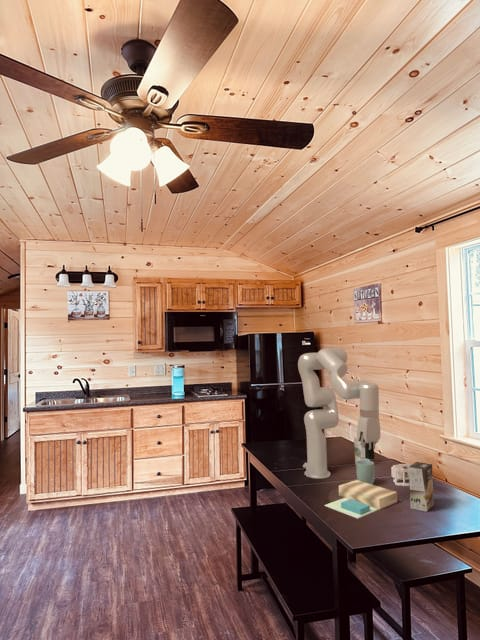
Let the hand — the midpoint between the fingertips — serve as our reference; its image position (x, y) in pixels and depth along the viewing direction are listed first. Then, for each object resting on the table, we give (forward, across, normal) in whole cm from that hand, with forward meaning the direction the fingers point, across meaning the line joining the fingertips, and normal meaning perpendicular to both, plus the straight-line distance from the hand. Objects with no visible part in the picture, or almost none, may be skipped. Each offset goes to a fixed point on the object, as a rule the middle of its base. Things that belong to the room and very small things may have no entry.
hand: (369, 458), depth 173 cm
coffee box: (+17, -11, +17) cm, 26 cm away
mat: (+17, +12, 0) cm, 21 cm away
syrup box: (+19, -39, -32) cm, 54 cm away
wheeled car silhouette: (+18, -36, -3) cm, 40 cm away
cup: (+18, -16, -13) cm, 28 cm away
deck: (+18, -2, -2) cm, 18 cm away
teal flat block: (+15, +12, +2) cm, 19 cm away
